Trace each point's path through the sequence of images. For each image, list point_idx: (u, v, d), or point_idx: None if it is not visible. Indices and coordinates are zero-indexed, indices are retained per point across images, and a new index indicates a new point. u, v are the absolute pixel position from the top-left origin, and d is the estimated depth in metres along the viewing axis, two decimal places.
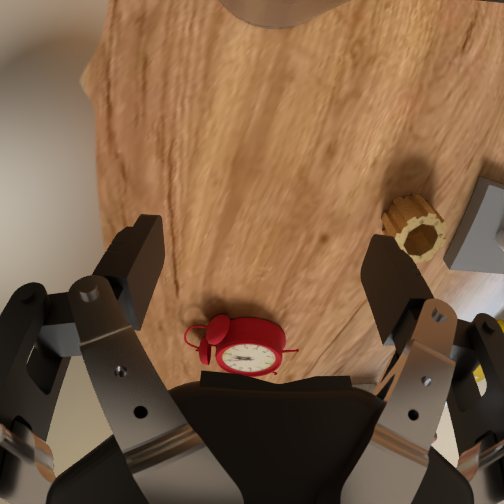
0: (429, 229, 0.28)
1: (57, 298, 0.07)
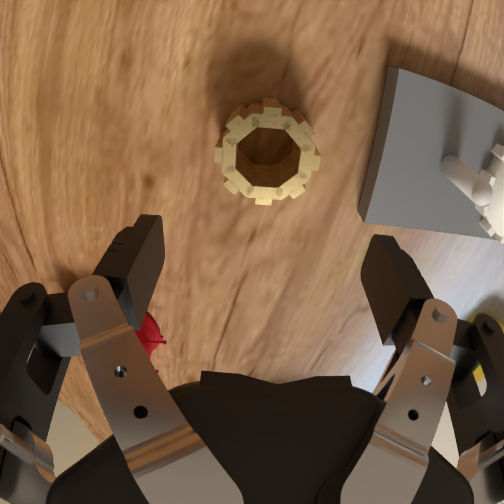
0: (296, 147, 0.19)
1: (57, 298, 0.07)
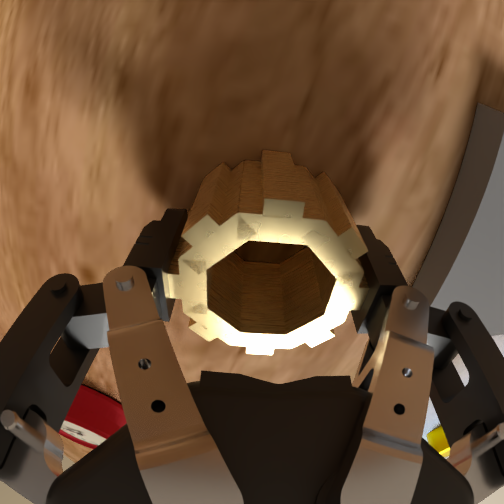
0: None
1: (88, 289, 0.08)
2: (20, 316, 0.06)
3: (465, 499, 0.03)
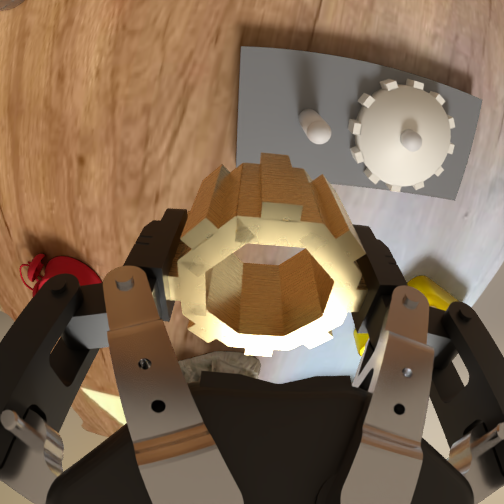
0: None
1: (88, 289, 0.08)
2: (20, 316, 0.06)
3: (465, 499, 0.03)
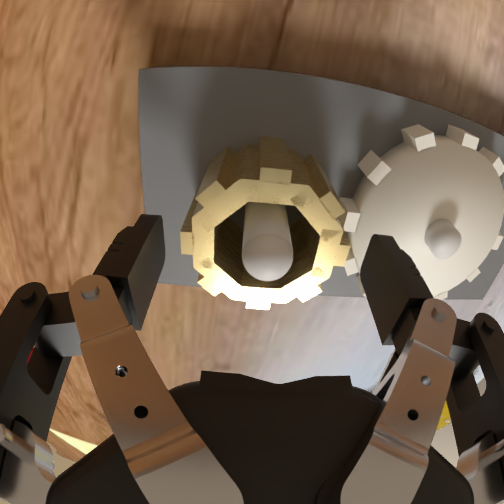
0: None
1: (58, 298, 0.07)
2: None
3: (465, 503, 0.03)
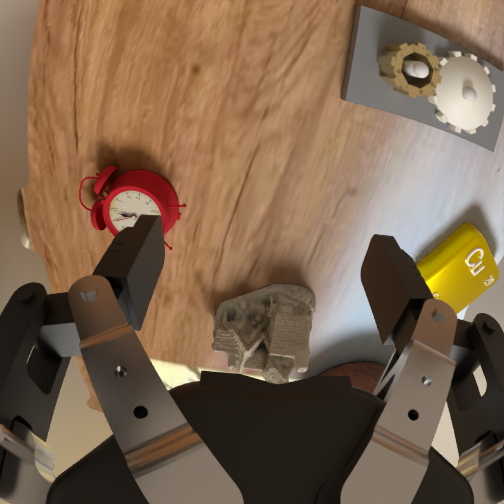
0: None
1: (57, 298, 0.07)
2: None
3: (465, 503, 0.03)
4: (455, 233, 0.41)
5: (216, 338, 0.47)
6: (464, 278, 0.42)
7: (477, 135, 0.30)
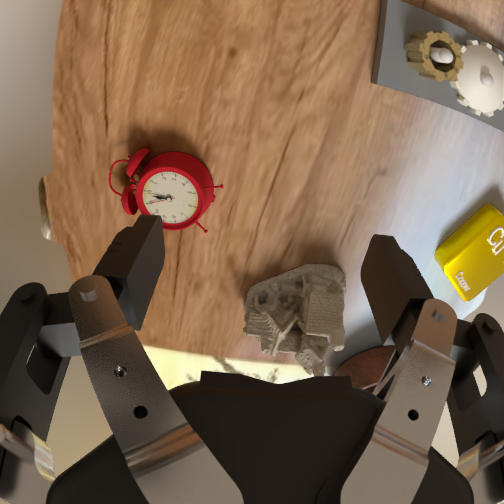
0: None
1: (57, 298, 0.07)
2: None
3: (466, 503, 0.03)
4: (477, 213, 0.40)
5: (249, 321, 0.47)
6: (486, 257, 0.41)
7: (494, 118, 0.29)
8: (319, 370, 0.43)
